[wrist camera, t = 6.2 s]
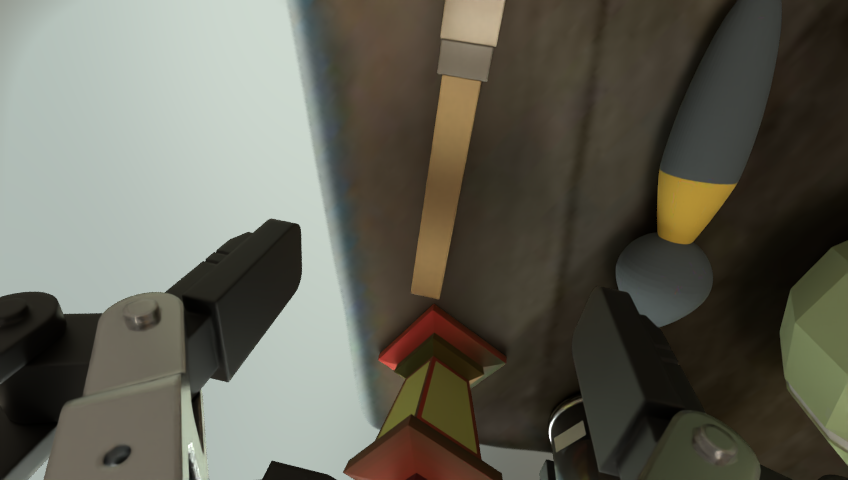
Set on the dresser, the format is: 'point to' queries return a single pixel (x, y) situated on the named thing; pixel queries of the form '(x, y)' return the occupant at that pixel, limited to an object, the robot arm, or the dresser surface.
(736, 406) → the dresser surface
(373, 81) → the dresser surface
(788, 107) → the dresser surface
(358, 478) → the light fixture
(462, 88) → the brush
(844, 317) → the decorative sphere
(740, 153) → the paintbrush
